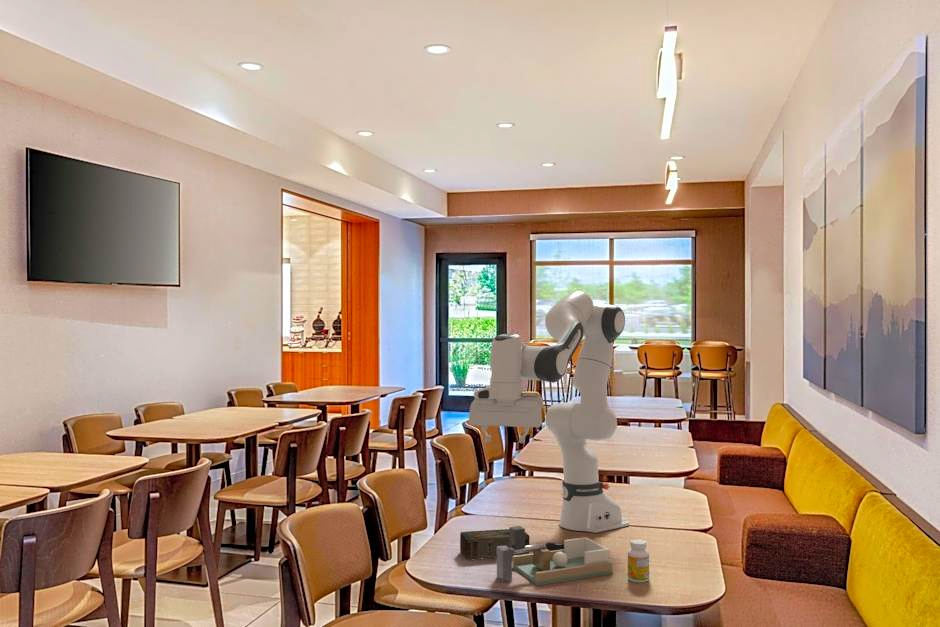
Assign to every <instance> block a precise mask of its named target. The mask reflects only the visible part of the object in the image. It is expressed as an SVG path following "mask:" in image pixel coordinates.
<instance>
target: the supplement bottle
mask: <svg viewBox="0 0 940 627" xmlns="http://www.w3.org/2000/svg"><path fill="white" fill-rule="evenodd" d="M627 578H628V580H629V581H631V582H634V583H647V582H648V581H649V580H650V552H649V550H648V549H647V541H646V540H644V539H639V538H638V539H632V540H630V548H629V549H628V551H627Z"/></svg>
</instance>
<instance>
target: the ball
mask: <svg viewBox="0 0 940 627" xmlns="http://www.w3.org/2000/svg"><path fill="white" fill-rule="evenodd" d="M567 562H568V558H567V555H566V554H565V553H563V552H556V553H555V554H554V556H553V563H554V564H555V566H557V567H564V566H565V565H566V564H567Z"/></svg>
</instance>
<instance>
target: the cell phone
mask: <svg viewBox="0 0 940 627" xmlns="http://www.w3.org/2000/svg"><path fill="white" fill-rule="evenodd" d="M545 544H546V549H548V550H549V551H553V550H560V549H564V543H555V542H546V543H545Z"/></svg>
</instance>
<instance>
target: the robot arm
mask: <svg viewBox="0 0 940 627" xmlns="http://www.w3.org/2000/svg"><path fill="white" fill-rule="evenodd" d="M625 316H626V315H625V313H624V311H623V310H622V308H621V307H620V306H617V305H614V304H606V303H597V302H594V301H593V298H591V296H590V295H589V294H588V293H586V292H584V291H580V290H576V291H573V292H570V293H568V294H567V295H565V296H563V297H562V298H561V299H559V300H558V301H557V302H556V303H555V304H554V305H553V306H552V307H551V308H550V309H549V310H548V312H547V314H546V316H545V317H544V318H545V321H544V322H545V328H546V331H547V332H548V334H549V335H550V337H552V338H553V339H554V340H555V341H557V343H556V344H554V345H546V346H544V345H542V346H541V345H538V346H537V345H528V344H526V343H524V342H523V341H522V340H521V336H520V335H519V334H517V333H503V334H498V335H495V337H494V338H493V340H492V343H491V348H490V359H489V360H490V361H489V363H490V365H489V366H490V370H491V375H490V379H489V386H485V387H482V388H479V389H477V390H475V391H474V392H473V397H474V399H473V401H471V403H470V406H469V414H468V423H469V424H470V426H476V427H477V426H478V427H480V428H481V432H482V433H483V435H484V437H485V438H484V440H485V441H484V442H485V443H491V442H492V435H491V434H488V432H487V429H488V427H515V428H516V427H518V428H523V431H524V433H523V434H522V435H520V436H519V444H526V438H527V435H528V433H529V432H530V428H540V427H541V426H542V425H543V418H542V416H543V415H542V409H543V408H544V398H543V396H542V395H540V394H538V392H537V393H536V392H533V393H532V392H531V393H530V392H523V389H522V388H523V380H530V381H541V382H545V383H546V382H547V383H556V382H558V381H560V380H561V379H562V378H563V377H564V375H565V374H566V372H567V370H568V366H569V364H570V362H571V360H572V358H573V356H574V354H575V353H576V351H577V349H578V348H579V346H580V344H582V345H581V347H580V350H579V353H578V356H577V359H576V365H575V368H574V372H573V375H572V376H573V377H572V385H573V387H574V389H576V390H577V392H579V393H580V401H579V403H574V402H559V403H558V402H557V403H554V404H552V405H550V406H549V407H548V409H547V411H546V413H545V420H544V421H545V425H546V428H547V429H548V430H549V431H550V433H552V434H553V436H554V437H555V440H556V442H558V446H559V449H560V452H561V455H562V465H563V468H562V469H563V480H562V484H561V487H562V489H561V490H562V508H561V515H560V518H559V522H558V525H559V526H560V527H561V528H563V529H565V530H571V531H578V532H589V533H593V534H594V533H601V532H606V531H610V530H614V529H619V528H624V527H627V526H630V521H629V520H628V519H626V518H625V517H623V516H622V510H621V507H620V505H619V503H618V502H617V501H616V500H614V499H612V498H611V497H610V496H609V495H607V494H606V492H604V490H605V491H607V490H609V488H610V484H609V483H608V482H602V481H599V459H598V456H597V454H596V453H595V452H594V451H593V450H592V449H591V448H590V446H589V445H588V443H587V441H586V440H589V441H604V440H609V439H611V438H612V437H614V435H615V433H616V431H617V428H618V419H617V416H616V414H615V412H614V411H613V410H612V409H611V407H610V405H609V402H608V398H607V387H608V381H609V376H610V372H611V368H612V362H613V355H614V342H615V341H616V340H617V338H619V336H620V335H621V334H622V333H623V331H624V328H625V326H626V325H625V324H626V317H625ZM583 337H584V340H583ZM582 341H583V342H582ZM603 489H604V490H603Z"/></svg>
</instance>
